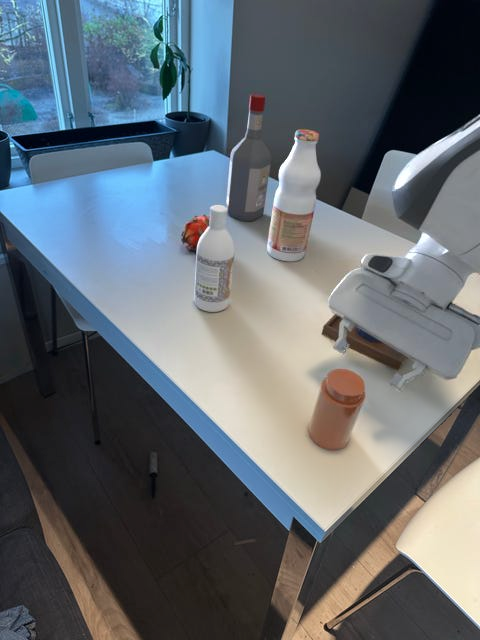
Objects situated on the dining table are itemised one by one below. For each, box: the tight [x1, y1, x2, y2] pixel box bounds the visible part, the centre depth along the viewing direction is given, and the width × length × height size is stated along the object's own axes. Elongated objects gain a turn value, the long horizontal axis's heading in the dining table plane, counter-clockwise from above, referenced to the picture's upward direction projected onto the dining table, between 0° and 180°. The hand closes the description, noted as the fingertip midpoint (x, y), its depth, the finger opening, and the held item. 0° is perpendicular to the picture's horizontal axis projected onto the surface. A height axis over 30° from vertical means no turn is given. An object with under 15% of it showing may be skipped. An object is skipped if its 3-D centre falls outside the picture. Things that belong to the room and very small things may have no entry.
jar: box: [307, 368, 366, 451], centre depth 62 cm, size 6×6×11 cm
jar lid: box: [357, 327, 381, 343], centre depth 85 cm, size 6×6×2 cm
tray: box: [321, 314, 408, 372], centre depth 85 cm, size 15×13×2 cm
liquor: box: [225, 93, 272, 222], centre depth 115 cm, size 9×9×30 cm
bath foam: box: [193, 204, 235, 313], centre depth 83 cm, size 7×7×20 cm
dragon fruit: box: [180, 213, 210, 251], centre depth 104 cm, size 8×8×12 cm
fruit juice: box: [266, 129, 322, 262], centre depth 100 cm, size 9×9×28 cm
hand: (365, 368), depth 63 cm, fingers open, 8 cm apart
